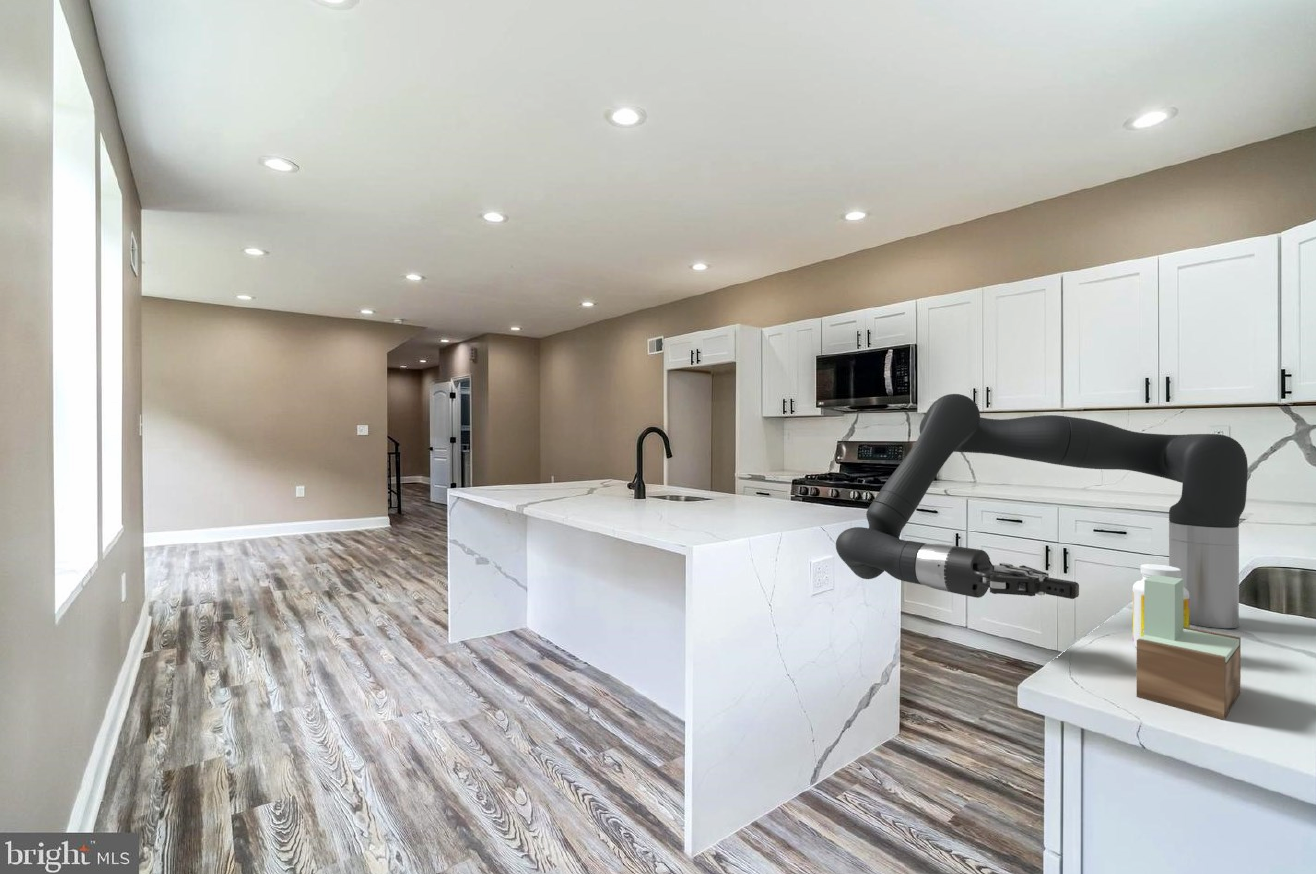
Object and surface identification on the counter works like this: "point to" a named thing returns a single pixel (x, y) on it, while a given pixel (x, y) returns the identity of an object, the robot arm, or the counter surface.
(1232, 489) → the robot arm
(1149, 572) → the supplement bottle
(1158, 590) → the sage lid
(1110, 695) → the counter surface
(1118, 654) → the counter surface
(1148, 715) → the counter surface
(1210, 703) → the walnut box
